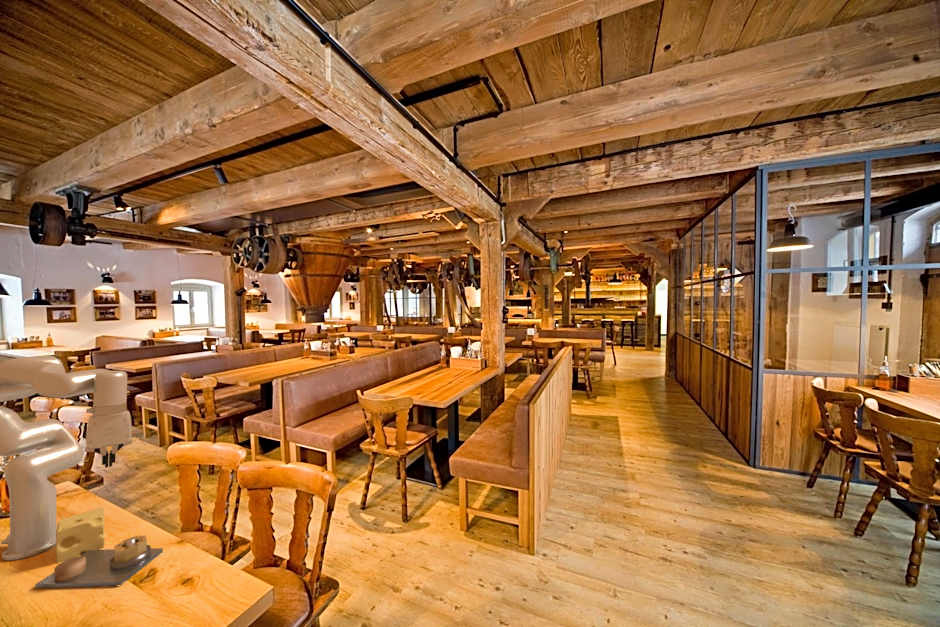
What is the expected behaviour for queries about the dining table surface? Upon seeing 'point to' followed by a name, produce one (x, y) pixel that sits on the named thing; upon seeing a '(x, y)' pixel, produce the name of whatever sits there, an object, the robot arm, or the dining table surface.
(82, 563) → the brown rounded dome
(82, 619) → the dining table surface
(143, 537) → the collar
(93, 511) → the cheese
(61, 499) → the dining table surface
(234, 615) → the dining table surface
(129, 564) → the hub
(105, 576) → the plate
